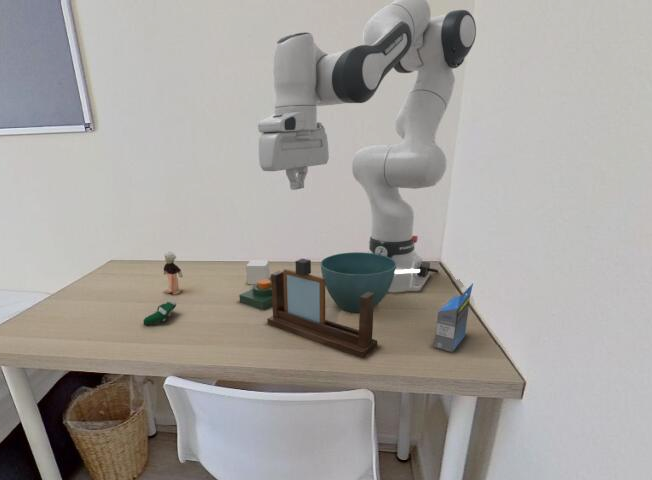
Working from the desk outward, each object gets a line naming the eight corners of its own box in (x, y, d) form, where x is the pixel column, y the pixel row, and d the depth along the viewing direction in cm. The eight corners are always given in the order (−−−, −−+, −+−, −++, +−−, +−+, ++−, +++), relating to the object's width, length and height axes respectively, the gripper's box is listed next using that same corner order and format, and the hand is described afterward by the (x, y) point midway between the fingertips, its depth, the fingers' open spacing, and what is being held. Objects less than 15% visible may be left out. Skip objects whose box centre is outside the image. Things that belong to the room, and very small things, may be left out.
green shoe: (152, 333, 98) (165, 318, 95) (140, 322, 97) (153, 307, 95) (168, 317, 106) (181, 303, 104) (157, 307, 106) (170, 293, 103)
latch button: (264, 284, 111) (263, 278, 110) (273, 286, 109) (273, 280, 108) (255, 288, 108) (254, 282, 108) (264, 290, 106) (264, 284, 106)
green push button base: (266, 290, 116) (266, 277, 115) (290, 297, 111) (289, 283, 109) (239, 302, 109) (238, 288, 107) (263, 310, 103) (262, 295, 102)
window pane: (288, 314, 95) (286, 255, 90) (327, 327, 88) (327, 263, 83) (282, 318, 94) (280, 257, 88) (321, 331, 87) (321, 266, 81)
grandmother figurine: (160, 293, 118) (153, 252, 113) (168, 289, 121) (162, 249, 117) (181, 296, 115) (176, 254, 111) (189, 291, 118) (183, 250, 114)
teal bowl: (371, 329, 90) (374, 279, 86) (307, 310, 101) (306, 265, 97) (404, 303, 103) (408, 258, 98) (344, 289, 114) (344, 248, 110)
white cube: (251, 277, 128) (250, 260, 125) (270, 278, 126) (269, 260, 124) (247, 284, 122) (246, 265, 120) (266, 284, 121) (265, 265, 119)
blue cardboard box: (447, 331, 88) (453, 279, 83) (465, 336, 85) (473, 282, 81) (433, 347, 81) (439, 292, 77) (453, 353, 79) (460, 296, 75)
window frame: (283, 315, 99) (281, 268, 95) (377, 346, 83) (380, 291, 78) (267, 324, 95) (264, 275, 91) (362, 358, 79) (365, 301, 74)
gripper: (312, 122, 93) (313, 183, 98) (252, 123, 79) (256, 194, 84) (335, 121, 89) (334, 184, 94) (275, 121, 75) (278, 195, 80)
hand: (297, 188), depth 88 cm, fingers closed
